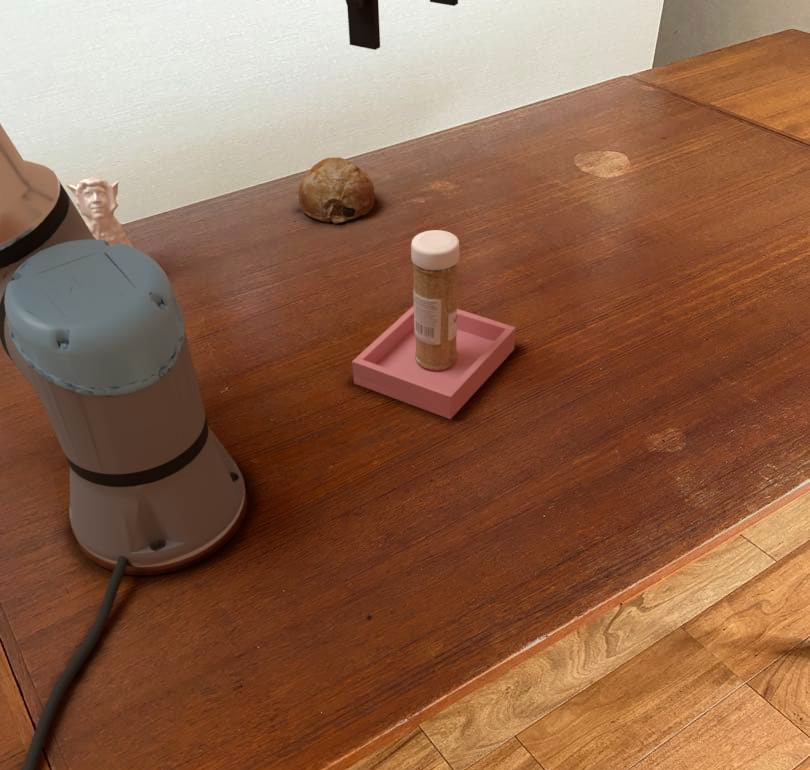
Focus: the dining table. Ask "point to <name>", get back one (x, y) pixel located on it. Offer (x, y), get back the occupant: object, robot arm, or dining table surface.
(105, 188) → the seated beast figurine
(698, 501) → the dining table surface
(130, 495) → the robot arm
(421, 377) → the pink tray
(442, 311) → the spice jar
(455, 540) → the dining table surface
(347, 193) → the bread roll
